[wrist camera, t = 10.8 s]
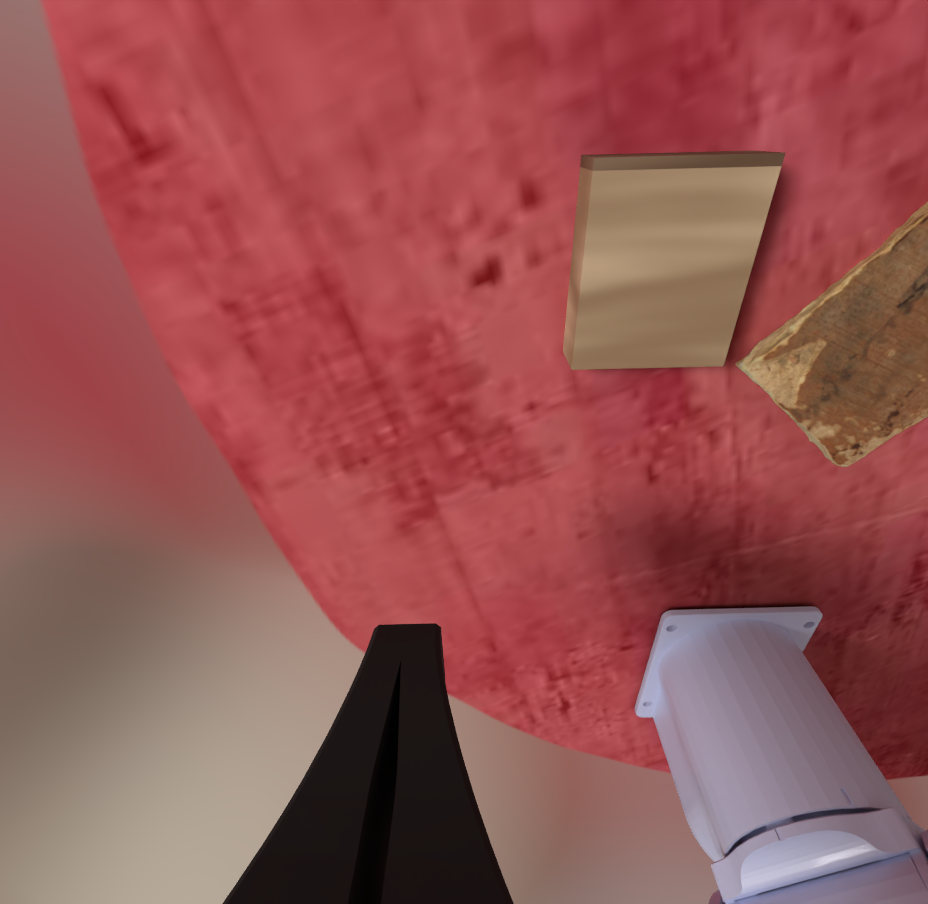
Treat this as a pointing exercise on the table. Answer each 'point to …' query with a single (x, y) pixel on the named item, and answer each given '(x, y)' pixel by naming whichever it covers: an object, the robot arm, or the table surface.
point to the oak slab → (664, 255)
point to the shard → (856, 351)
